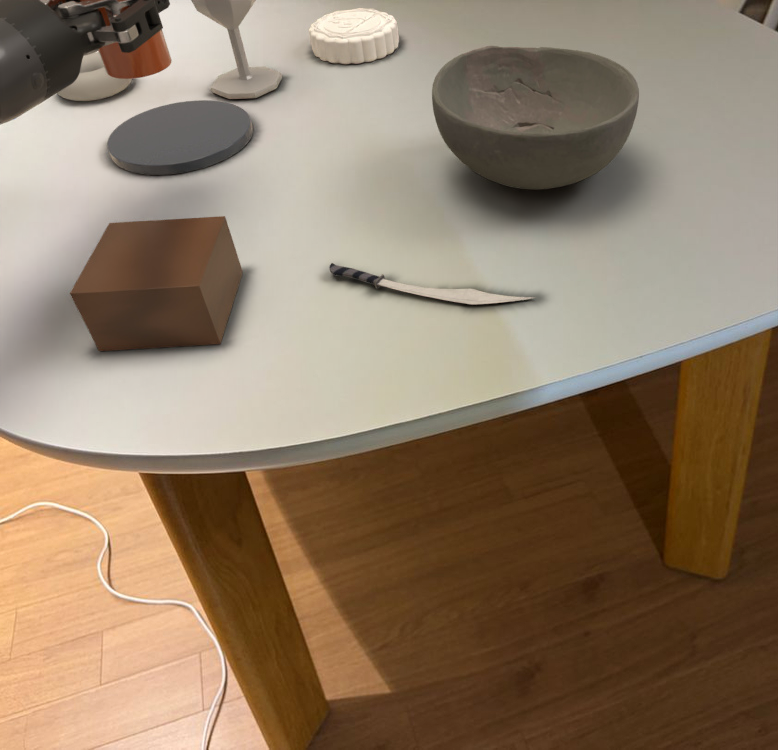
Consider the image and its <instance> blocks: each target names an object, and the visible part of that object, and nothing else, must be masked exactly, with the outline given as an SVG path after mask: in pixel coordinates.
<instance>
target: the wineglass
mask: <svg viewBox="0 0 778 750" xmlns="http://www.w3.org/2000/svg"><path fill="white" fill-rule="evenodd" d="M190 1H191V3H192V5H193V6H194V8H195V10H196V12H198V13H200V14H202V15H203V16H205V17H207V18H208V19H210V20H212V21H213V22H215V23H216V24H218V25H220V26H222V27H223V28H225V29H227V33H228V37H229V41H230V45H231V48H232V52H233V57H234V60H235V63H236V68H234V69H232V70H229V71H227V72H225V73H222V74H219V75H218V76H217V77H216V79H215V80H214V82H213V83H212V85H211V86H210V91H211V93H213V94H216V95H217V96H220V97H223V98H226V99H228V100H238V99H239V100H240V99H257V98H260V97H261V96H263V95H266V94H268V93H270V92H272V91H274V90H276V89H277V88H278V86H279V85H280V83H281V80H282V79H283V73H282V71H278V70H275V69H273V68H270V67H267V66H249V62H248V58H247V55H246V51H245V47H244V42H243V39H242V35H241V32H240V25H241V24H242V22H243V21H244V19H245V18H246V16H247V15H248V13H249V12H250V10H251V9H252V7H253V5H255V3H256V1H257V0H190Z"/></svg>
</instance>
